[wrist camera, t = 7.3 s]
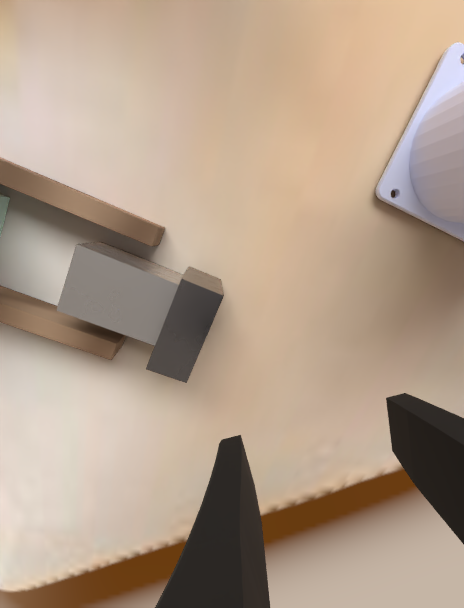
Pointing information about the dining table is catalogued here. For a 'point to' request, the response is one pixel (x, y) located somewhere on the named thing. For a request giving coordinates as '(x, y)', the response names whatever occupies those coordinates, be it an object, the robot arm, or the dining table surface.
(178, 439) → the dining table surface
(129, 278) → the grey t-shaped block
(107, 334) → the rail channel
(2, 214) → the block
